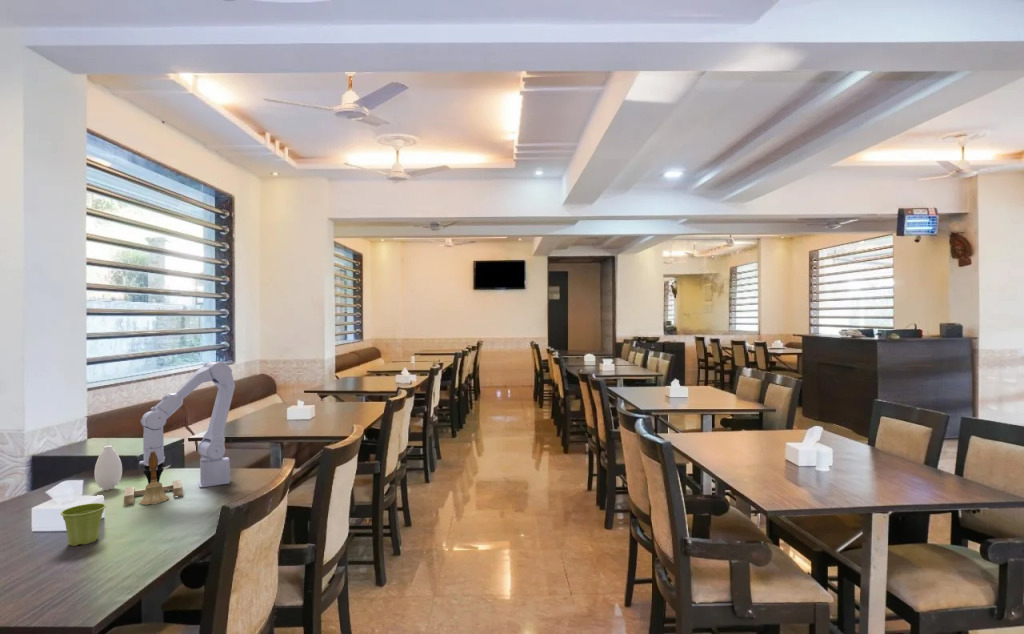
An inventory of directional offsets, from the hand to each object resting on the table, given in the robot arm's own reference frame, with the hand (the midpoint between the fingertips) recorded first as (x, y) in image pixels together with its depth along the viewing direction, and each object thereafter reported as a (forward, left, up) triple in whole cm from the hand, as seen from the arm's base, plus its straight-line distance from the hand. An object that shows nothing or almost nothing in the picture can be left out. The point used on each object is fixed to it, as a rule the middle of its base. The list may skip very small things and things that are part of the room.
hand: (153, 487), depth 184 cm
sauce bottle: (+13, -20, -3) cm, 24 cm away
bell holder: (0, +1, -3) cm, 3 cm away
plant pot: (+15, +37, -3) cm, 40 cm away
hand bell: (0, +7, -3) cm, 7 cm away
